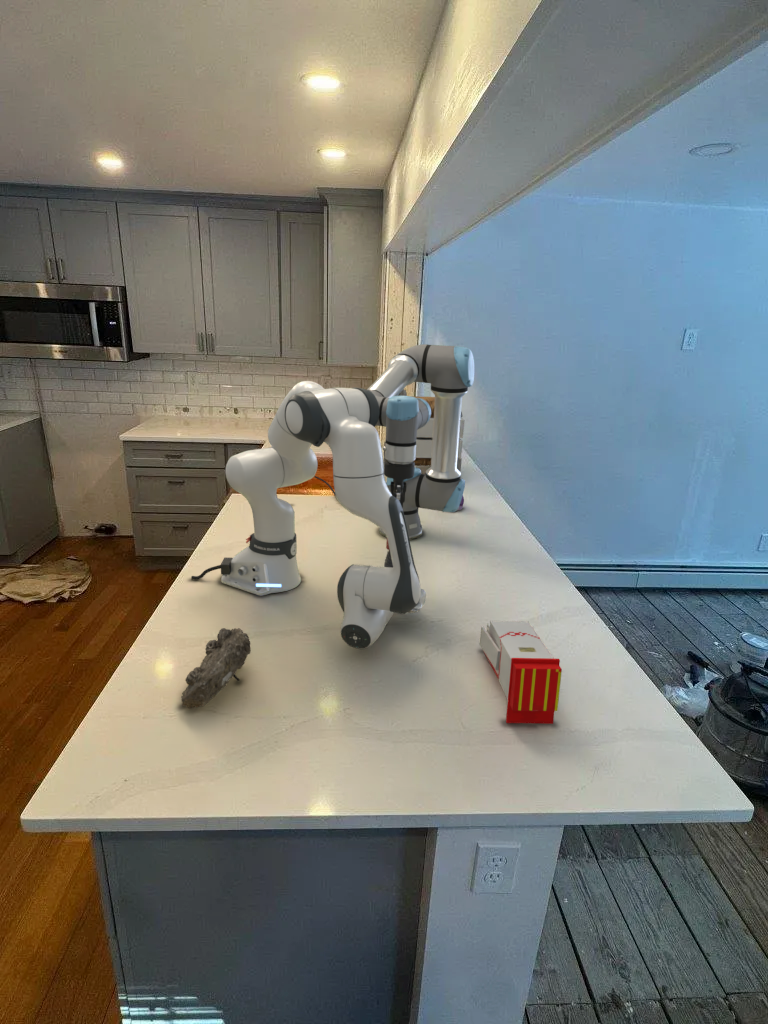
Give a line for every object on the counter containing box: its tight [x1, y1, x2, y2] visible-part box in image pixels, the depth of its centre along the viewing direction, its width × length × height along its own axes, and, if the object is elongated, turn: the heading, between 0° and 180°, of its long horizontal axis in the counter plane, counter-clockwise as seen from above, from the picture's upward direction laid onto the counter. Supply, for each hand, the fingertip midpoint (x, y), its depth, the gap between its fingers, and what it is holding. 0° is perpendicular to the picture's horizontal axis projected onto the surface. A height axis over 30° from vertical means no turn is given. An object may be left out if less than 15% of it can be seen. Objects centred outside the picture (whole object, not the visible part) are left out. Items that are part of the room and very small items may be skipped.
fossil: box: [180, 627, 252, 709], centre depth 117 cm, size 22×10×15 cm
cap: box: [385, 539, 390, 550], centre depth 146 cm, size 5×5×2 cm
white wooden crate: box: [383, 388, 465, 474], centre depth 268 cm, size 34×33×41 cm
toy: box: [478, 620, 563, 725], centre depth 121 cm, size 12×13×30 cm
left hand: (394, 580), depth 151 cm, fingers closed on bottle, 5 cm apart
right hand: (395, 547), depth 147 cm, fingers closed on cap, 5 cm apart
